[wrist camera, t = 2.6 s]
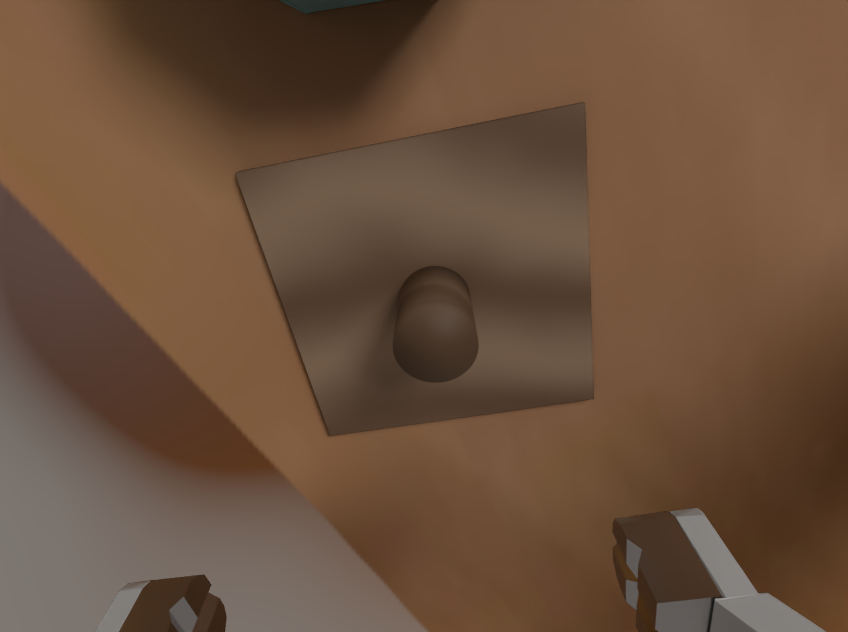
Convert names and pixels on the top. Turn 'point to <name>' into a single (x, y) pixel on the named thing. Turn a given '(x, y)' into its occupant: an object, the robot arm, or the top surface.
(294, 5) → the bowl
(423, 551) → the top surface
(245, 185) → the lid
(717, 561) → the robot arm
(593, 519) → the top surface
